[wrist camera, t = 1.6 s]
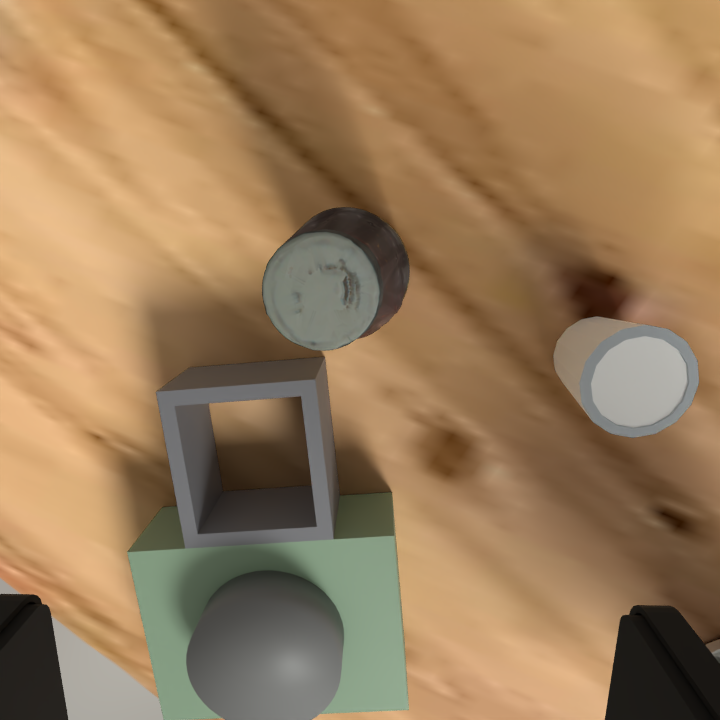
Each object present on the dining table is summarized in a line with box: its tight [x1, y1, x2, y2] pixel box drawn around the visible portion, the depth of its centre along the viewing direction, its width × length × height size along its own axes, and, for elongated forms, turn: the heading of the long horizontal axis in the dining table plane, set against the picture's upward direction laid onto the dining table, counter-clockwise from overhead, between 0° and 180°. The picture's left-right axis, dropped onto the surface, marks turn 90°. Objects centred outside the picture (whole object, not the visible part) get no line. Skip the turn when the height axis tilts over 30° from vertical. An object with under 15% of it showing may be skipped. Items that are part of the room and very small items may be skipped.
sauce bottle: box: [262, 207, 410, 351], centre depth 27 cm, size 6×6×20 cm
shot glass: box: [553, 316, 699, 438], centre depth 35 cm, size 7×7×7 cm
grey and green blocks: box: [127, 357, 409, 720], centre depth 37 cm, size 18×25×9 cm
